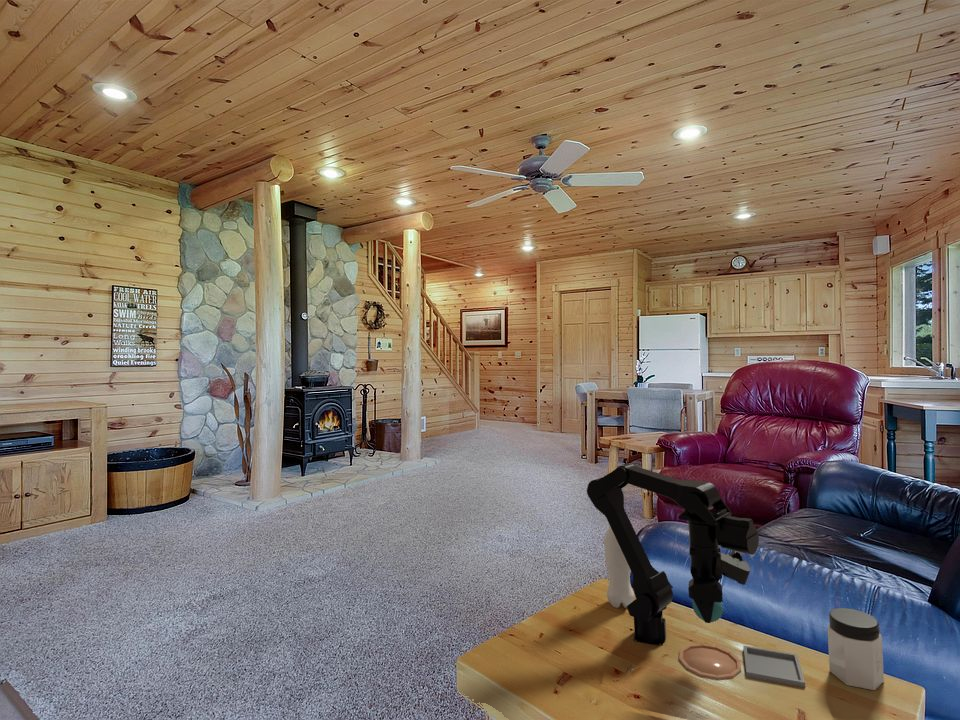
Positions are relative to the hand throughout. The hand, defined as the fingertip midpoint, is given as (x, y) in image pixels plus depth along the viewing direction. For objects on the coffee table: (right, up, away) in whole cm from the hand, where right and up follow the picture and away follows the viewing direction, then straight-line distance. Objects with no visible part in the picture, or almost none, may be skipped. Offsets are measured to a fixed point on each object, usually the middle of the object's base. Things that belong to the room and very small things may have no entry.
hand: (707, 615), depth 109 cm
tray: (+12, -10, -3) cm, 16 cm away
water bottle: (-11, -11, +28) cm, 32 cm away
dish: (0, -10, 0) cm, 11 cm away
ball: (0, -1, 0) cm, 1 cm away
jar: (+27, -9, -6) cm, 29 cm away
